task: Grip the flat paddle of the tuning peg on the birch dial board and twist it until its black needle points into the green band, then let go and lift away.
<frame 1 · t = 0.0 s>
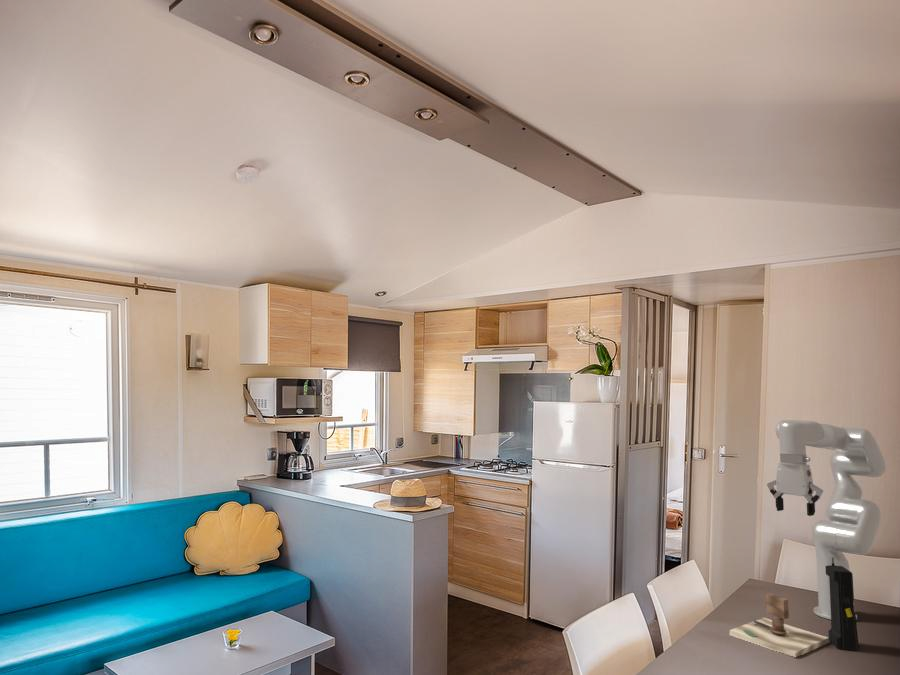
hand: (795, 512, 200), 37 cm above the table, tool pointing down, fingers open, 9 cm apart
portable radio: (844, 647, 184), on the table
dial board: (778, 638, 190), on the table
tuning peg: (769, 612, 193), point 7 cm above the table, hinge at 0.0°
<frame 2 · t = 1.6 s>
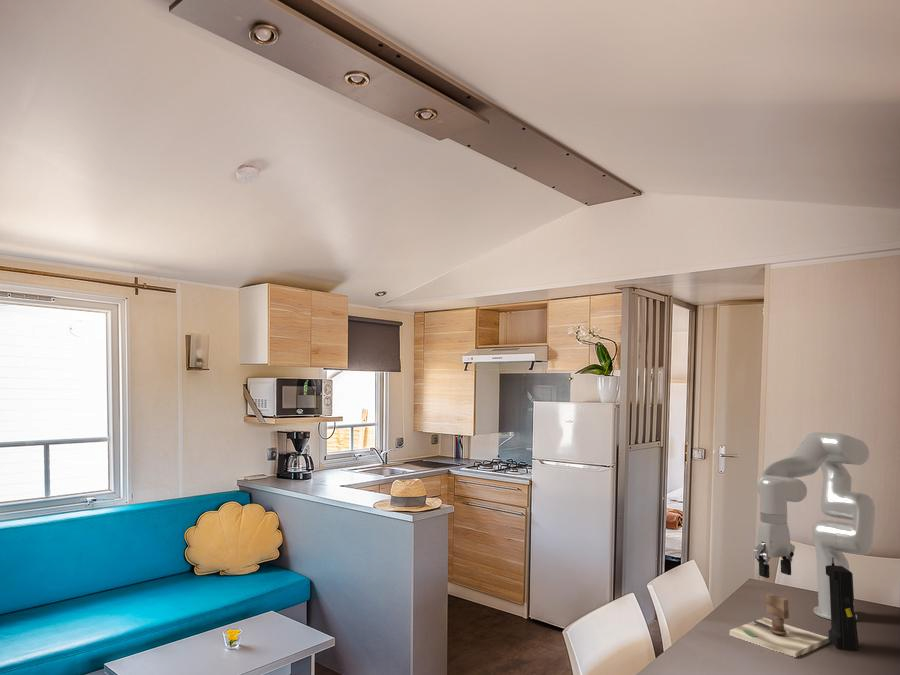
hand: (775, 575, 191), 19 cm above the table, tool pointing down, fingers open, 9 cm apart
nothing on the table moved.
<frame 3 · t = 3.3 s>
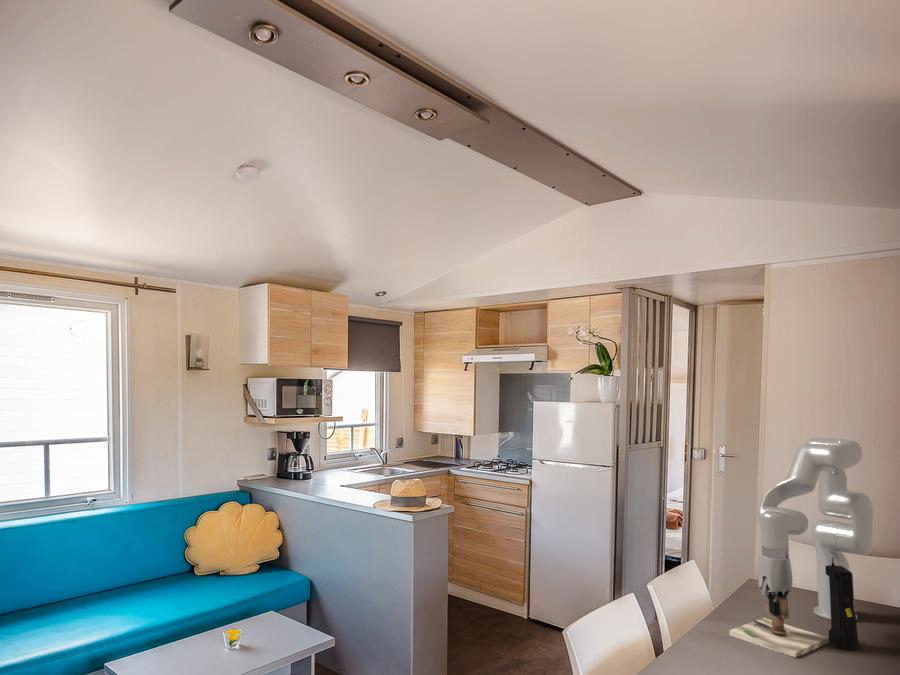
hand: (777, 613, 190), 8 cm above the table, tool pointing down, fingers closed on tuning peg, 2 cm apart
tuning peg: (769, 612, 193), point 7 cm above the table, hinge at 0.0°, touching gripper
everything else where it was.
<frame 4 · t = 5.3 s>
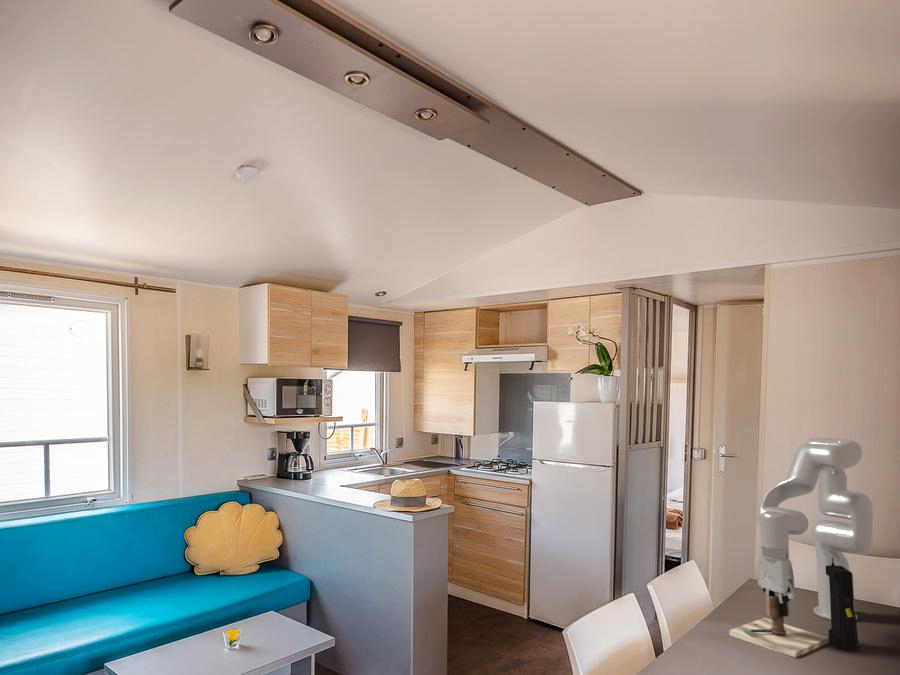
hand: (777, 613, 190), 8 cm above the table, tool pointing down, fingers closed on tuning peg, 3 cm apart
tuning peg: (768, 614, 190), point 7 cm above the table, hinge at 67.5°, touching gripper
everything else where it was.
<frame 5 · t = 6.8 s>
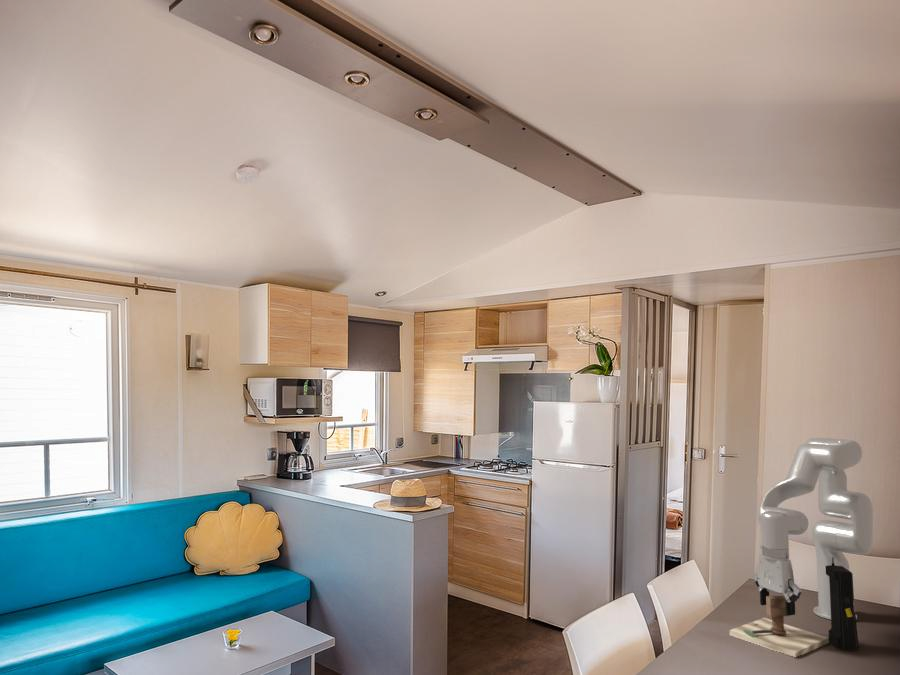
hand: (777, 609, 190), 9 cm above the table, tool pointing down, fingers open, 9 cm apart
tuning peg: (769, 615, 190), point 7 cm above the table, hinge at 74.0°
everything else where it was.
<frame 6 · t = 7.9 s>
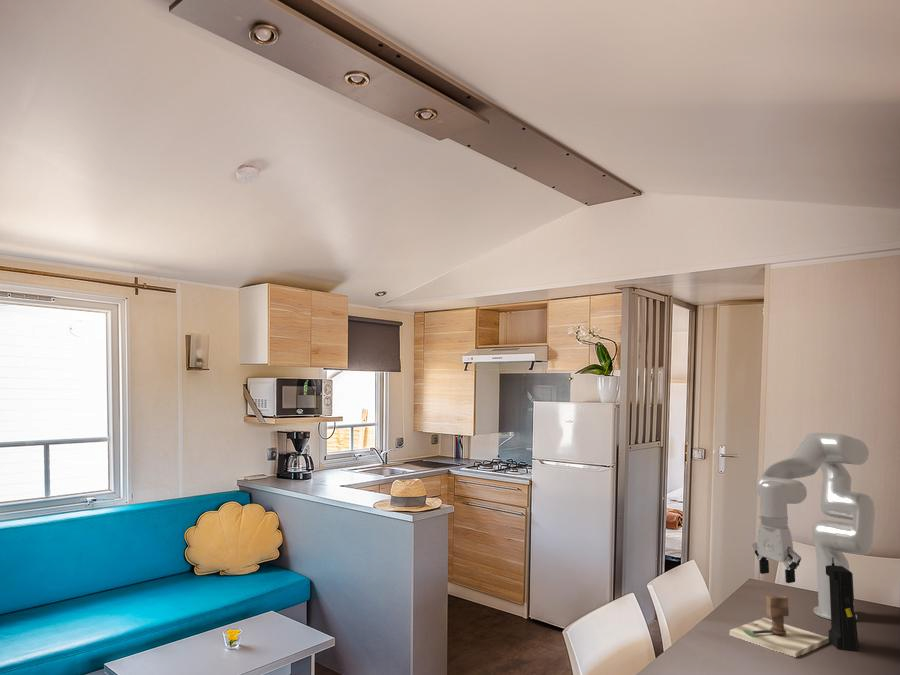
hand: (777, 577, 192), 18 cm above the table, tool pointing down, fingers open, 9 cm apart
tuning peg: (769, 615, 190), point 7 cm above the table, hinge at 74.8°
everything else where it was.
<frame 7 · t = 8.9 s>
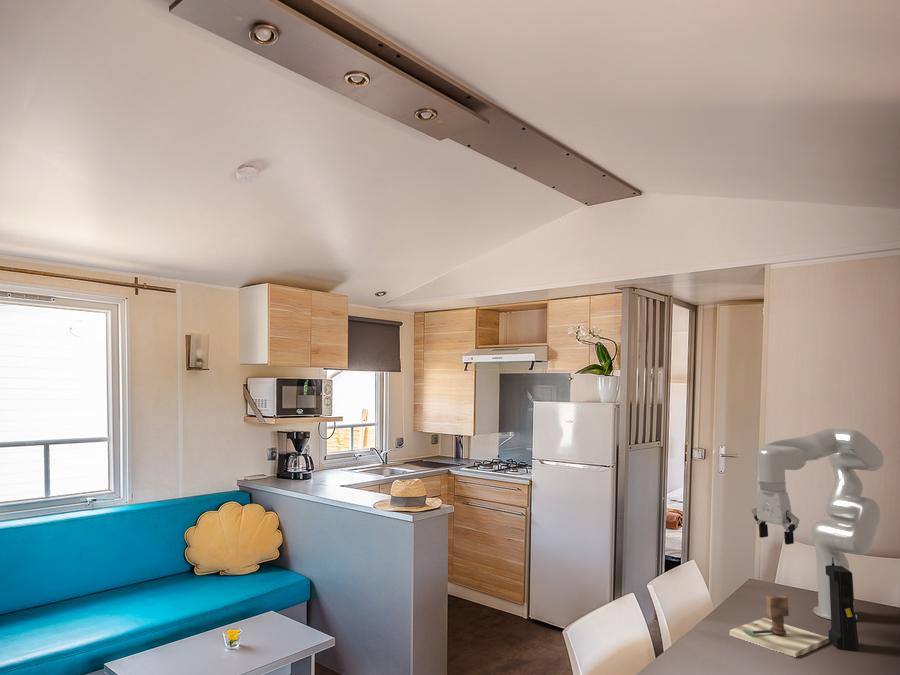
hand: (776, 540, 200), 28 cm above the table, tool pointing down, fingers open, 9 cm apart
nothing on the table moved.
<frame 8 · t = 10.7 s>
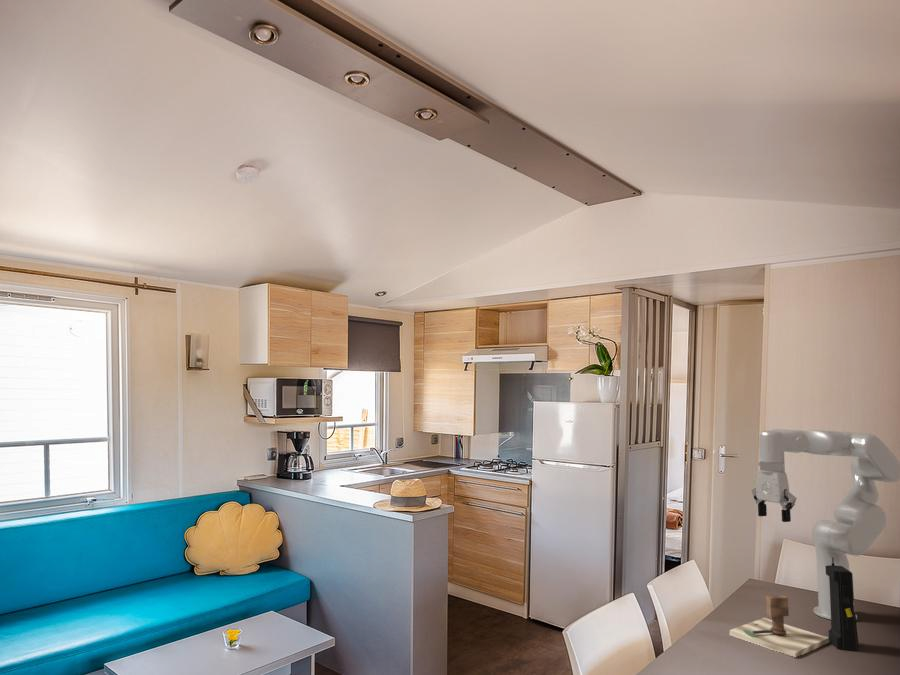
hand: (774, 518, 208), 33 cm above the table, tool pointing down, fingers open, 9 cm apart
nothing on the table moved.
at the end: tuning peg at +75° (first picture: +0°); the gripper is holding nothing; portable radio moved 0.2 cm from its start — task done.
